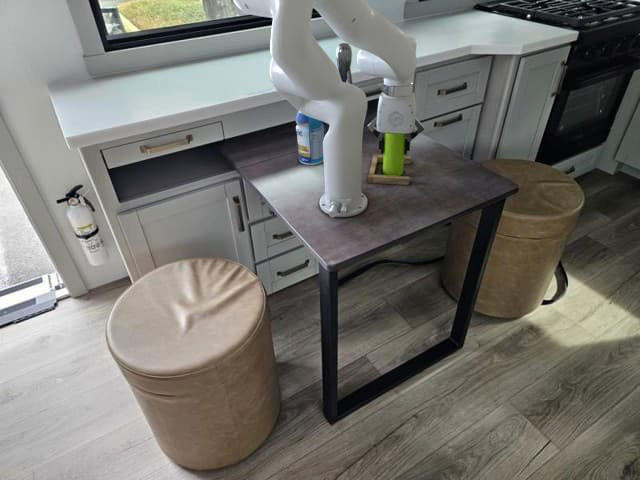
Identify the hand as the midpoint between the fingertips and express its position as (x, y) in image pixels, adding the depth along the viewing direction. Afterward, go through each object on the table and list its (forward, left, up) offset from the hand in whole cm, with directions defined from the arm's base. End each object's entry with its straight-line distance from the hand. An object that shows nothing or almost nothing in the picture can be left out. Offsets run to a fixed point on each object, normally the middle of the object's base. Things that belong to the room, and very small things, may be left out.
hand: (394, 151), depth 122 cm
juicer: (+23, +20, -7) cm, 31 cm away
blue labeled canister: (+5, +26, -7) cm, 27 cm away
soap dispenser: (0, 0, -7) cm, 7 cm away
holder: (0, +1, -7) cm, 7 cm away
